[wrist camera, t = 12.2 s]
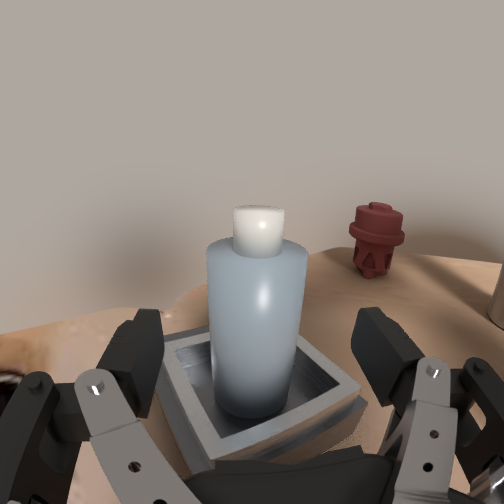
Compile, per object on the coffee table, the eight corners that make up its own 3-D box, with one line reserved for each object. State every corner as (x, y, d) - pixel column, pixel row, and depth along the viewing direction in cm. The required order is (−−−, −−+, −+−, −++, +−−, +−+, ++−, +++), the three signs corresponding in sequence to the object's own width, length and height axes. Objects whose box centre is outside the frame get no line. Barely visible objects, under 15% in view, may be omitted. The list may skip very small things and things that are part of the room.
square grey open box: (258, 340, 29) (261, 291, 27) (352, 433, 17) (377, 383, 15) (148, 369, 23) (135, 317, 21) (207, 505, 11) (195, 474, 9)
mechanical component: (371, 289, 40) (332, 266, 49) (405, 277, 44) (368, 259, 53) (385, 211, 36) (340, 198, 44) (419, 210, 40) (377, 198, 49)
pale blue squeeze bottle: (263, 359, 20) (273, 199, 16) (302, 400, 16) (334, 217, 12) (202, 378, 18) (192, 204, 14) (234, 429, 14) (234, 226, 10)
